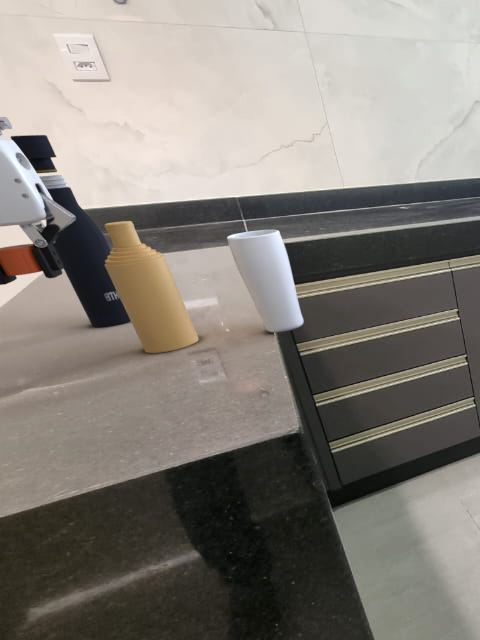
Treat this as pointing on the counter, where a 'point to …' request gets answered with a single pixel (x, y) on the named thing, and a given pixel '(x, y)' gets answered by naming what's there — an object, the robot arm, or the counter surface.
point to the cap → (19, 260)
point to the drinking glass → (267, 278)
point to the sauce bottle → (148, 292)
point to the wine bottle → (77, 241)
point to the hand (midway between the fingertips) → (31, 277)
